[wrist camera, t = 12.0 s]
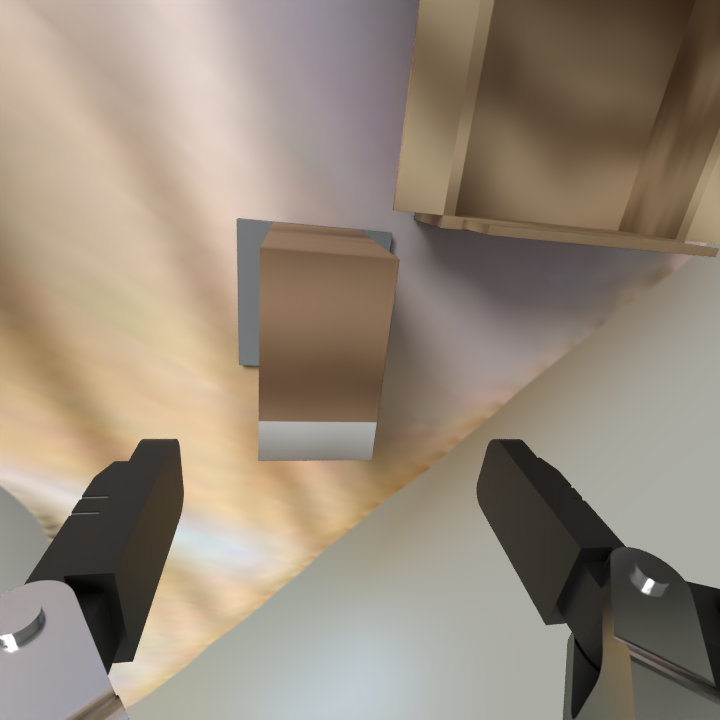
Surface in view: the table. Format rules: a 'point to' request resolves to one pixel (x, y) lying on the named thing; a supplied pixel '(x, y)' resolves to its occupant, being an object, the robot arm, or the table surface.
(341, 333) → the walnut block
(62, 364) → the table surface
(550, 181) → the kraft carton
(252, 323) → the felt mat
